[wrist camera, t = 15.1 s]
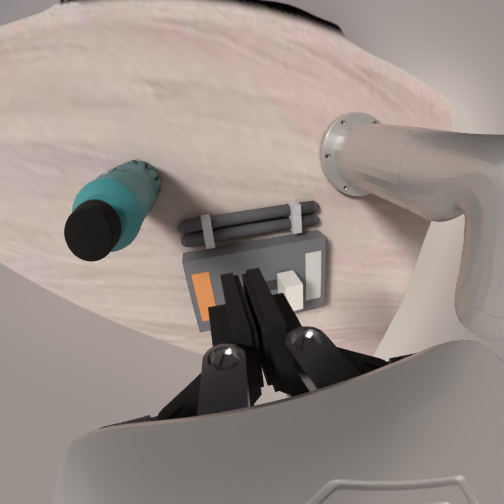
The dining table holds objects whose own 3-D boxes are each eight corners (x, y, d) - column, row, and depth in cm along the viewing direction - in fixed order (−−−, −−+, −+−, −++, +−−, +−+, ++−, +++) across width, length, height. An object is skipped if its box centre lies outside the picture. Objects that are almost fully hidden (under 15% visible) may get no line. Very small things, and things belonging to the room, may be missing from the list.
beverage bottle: (172, 189, 36) (153, 250, 18) (131, 215, 36) (84, 295, 18) (146, 147, 33) (98, 167, 15) (106, 176, 33) (32, 224, 15)
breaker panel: (317, 229, 42) (326, 237, 40) (317, 296, 48) (324, 306, 45) (182, 253, 40) (182, 262, 37) (199, 320, 45) (200, 332, 42)
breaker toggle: (293, 270, 40) (302, 284, 37) (293, 293, 42) (303, 308, 39) (276, 273, 40) (285, 288, 36) (278, 297, 42) (286, 312, 38)
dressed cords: (315, 197, 40) (322, 201, 38) (316, 223, 42) (322, 229, 40) (177, 219, 38) (176, 224, 35) (182, 246, 39) (182, 253, 37)
